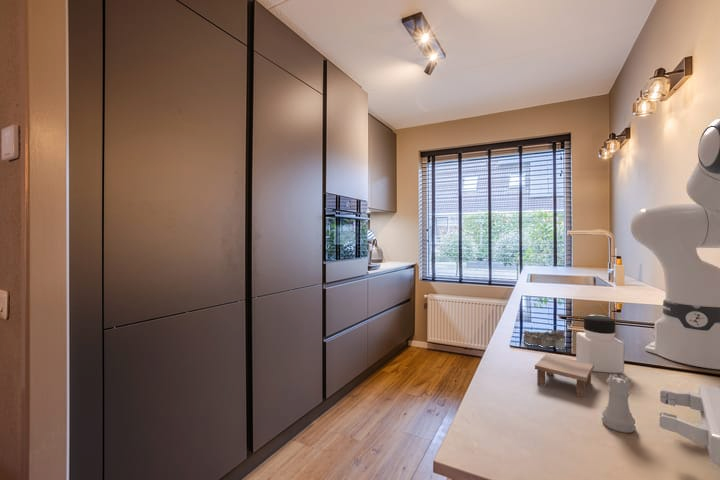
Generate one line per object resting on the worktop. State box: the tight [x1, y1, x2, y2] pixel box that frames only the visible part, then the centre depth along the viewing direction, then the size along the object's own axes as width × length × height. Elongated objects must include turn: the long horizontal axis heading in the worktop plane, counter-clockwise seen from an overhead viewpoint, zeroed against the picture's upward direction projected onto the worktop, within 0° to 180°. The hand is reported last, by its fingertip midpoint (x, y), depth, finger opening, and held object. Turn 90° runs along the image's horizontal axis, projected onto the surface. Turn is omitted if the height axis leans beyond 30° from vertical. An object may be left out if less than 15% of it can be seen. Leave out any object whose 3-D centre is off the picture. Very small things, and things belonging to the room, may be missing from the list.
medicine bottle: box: [575, 314, 625, 375], centre depth 79 cm, size 7×7×12 cm
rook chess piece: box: [601, 373, 637, 434], centre depth 54 cm, size 4×4×8 cm
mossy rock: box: [522, 329, 567, 350], centre depth 96 cm, size 11×8×4 cm
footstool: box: [534, 353, 594, 398], centre depth 70 cm, size 9×9×4 cm
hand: (659, 406), depth 51 cm, fingers open, 8 cm apart
